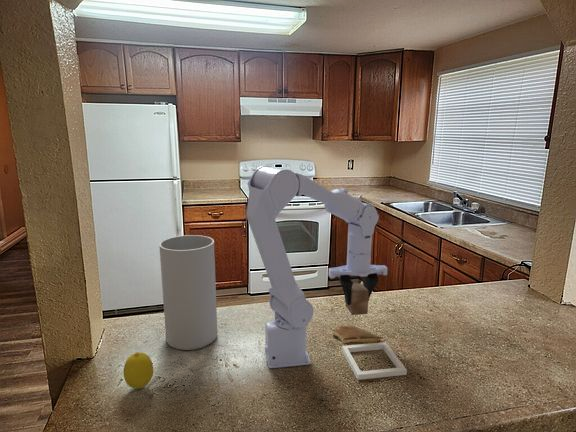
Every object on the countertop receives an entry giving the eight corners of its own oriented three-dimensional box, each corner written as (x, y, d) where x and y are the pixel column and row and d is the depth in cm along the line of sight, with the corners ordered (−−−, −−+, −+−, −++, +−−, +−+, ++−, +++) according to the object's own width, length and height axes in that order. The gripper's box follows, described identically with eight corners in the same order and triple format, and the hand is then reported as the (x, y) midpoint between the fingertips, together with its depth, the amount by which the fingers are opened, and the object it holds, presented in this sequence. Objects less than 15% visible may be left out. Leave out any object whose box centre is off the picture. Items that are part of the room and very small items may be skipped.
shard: (382, 342, 95) (382, 336, 95) (366, 356, 90) (367, 349, 89) (345, 327, 102) (345, 321, 102) (328, 339, 97) (329, 332, 96)
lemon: (145, 376, 81) (142, 342, 79) (159, 387, 78) (157, 351, 76) (120, 389, 77) (116, 353, 75) (134, 401, 74) (130, 364, 72)
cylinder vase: (227, 331, 99) (224, 238, 94) (196, 356, 88) (191, 253, 82) (188, 321, 104) (183, 232, 99) (155, 344, 93) (147, 246, 88)
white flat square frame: (357, 379, 80) (357, 374, 80) (341, 350, 91) (342, 346, 91) (406, 374, 82) (406, 369, 82) (385, 346, 93) (385, 342, 92)
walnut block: (351, 315, 94) (353, 292, 92) (345, 305, 98) (346, 284, 97) (367, 313, 94) (368, 291, 93) (360, 304, 99) (361, 283, 98)
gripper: (334, 257, 88) (333, 311, 91) (394, 254, 90) (390, 307, 93) (326, 248, 95) (325, 299, 98) (382, 245, 97) (379, 295, 100)
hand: (356, 302), depth 96 cm, fingers closed on walnut block, 4 cm apart
